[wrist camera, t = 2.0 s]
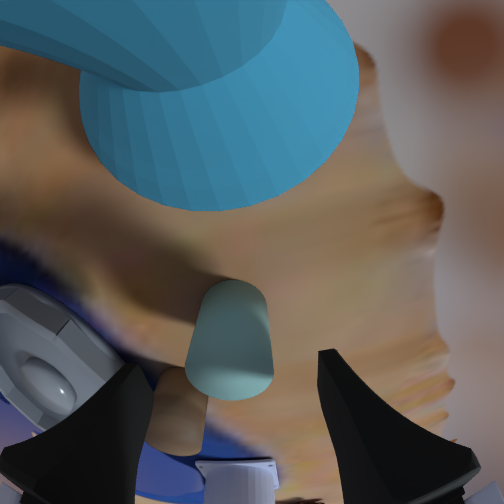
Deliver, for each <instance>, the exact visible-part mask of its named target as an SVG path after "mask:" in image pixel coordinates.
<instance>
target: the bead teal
mask: <svg viewBox="0 0 504 504" xmlns="http://www.w3.org/2000/svg"><path fill="white" fill-rule="evenodd" d="M185 373H186V376H187V378H188V380H189V381H190V383H191V384H192V385H193V386H194V387H195V388H196V389H198V390H199V391H200V392H202V393H204V394H206V395H208V396H210V397H213V398H217V399H222V400H243V399H248V398H251V397H254V396H256V395H258V394H260V393H261V392H263V391H264V390H265V389H266V388H267V387H268V386H269V385H270V383H271V381H272V379H273V375H274V369H273V359H272V349H271V340H270V330H269V321H268V311H267V304H266V300H265V298H264V296H263V294H262V293H261V292H260V291H259V290H258V289H257V288H256V287H255V286H253V285H251V284H249V283H247V282H244V281H240V280H227V281H222V282H219V283H217V284H215V285H214V286H212V287H211V288H210V289H209V290H208V291H207V292H206V294H205V295H204V297H203V300H202V304H201V307H200V311H199V314H198V318H197V322H196V325H195V329H194V332H193V336H192V340H191V343H190V347H189V351H188V355H187V358H186V362H185Z"/></svg>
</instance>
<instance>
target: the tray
mask: <svg viewBox="0 0 504 504" xmlns="http://www.w3.org/2000/svg"><path fill="white" fill-rule="evenodd" d="M124 364H126V363H125V362H124V360H123V359H122V358H121V357H120V356H119V354H118V353H117V352H116V351H115V350H114V348H113V347H112V346H111V345H110V344H109V343H108V342H107V341H106V340H105V339H104V338H103V337H102V336H101V335H100V334H99V333H98V332H97V331H96V330H95V329H94V328H92V327H91V326H90V325H89V324H88V323H87V322H86V321H85V320H83V319H82V318H81V317H80V316H79V315H77V314H76V313H75V312H74V311H72V310H71V309H69V308H68V307H67V306H65V305H64V304H63V303H61V302H60V301H58V300H56V299H55V298H53V297H52V296H50V295H48V294H46V293H44V292H42V291H40V290H39V289H36V288H33V287H31V286H28V285H24V284H20V283H7V284H3V285H1V286H0V392H1V393H2V394H3V396H4V397H5V398H6V399H7V400H8V401H9V402H10V403H11V404H12V405H13V406H14V407H15V408H16V409H17V410H19V411H20V412H21V413H22V414H23V415H24V416H25V417H26V418H27V419H28V420H30V421H31V422H32V423H33V424H34V425H35V426H37V427H38V428H40V429H41V430H43V431H44V432H45V431H46V430H48V429H50V428H51V427H53V426H55V425H56V424H58V423H59V422H61V421H62V420H64V419H65V418H66V417H68V416H69V415H71V414H72V413H73V412H74V411H76V410H77V409H78V408H79V407H80V406H81V405H82V404H84V403H85V402H86V401H87V400H88V399H89V398H90V397H91V396H93V395H94V394H95V393H96V392H97V391H98V390H99V389H100V388H101V387H102V386H103V385H104V384H105V383H106V382H107V381H108V380H109V379H110V378H111V377H112V376H113V375H114V374H115V373H116V372H117V371H118V370H119V369H120V368H121V367H122V366H123V365H124Z"/></svg>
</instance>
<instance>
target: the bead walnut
mask: <svg viewBox="0 0 504 504" xmlns="http://www.w3.org/2000/svg"><path fill="white" fill-rule="evenodd" d="M154 395H155V396H154V403H153V410H152V416H151V419H150V423H149V426H148V430H147V433H146V437H145V440H144V441H145V442H146V443H147V444H149V445H150V446H151V447H153V448H155V449H157V450H159V451H161V452H164V453H167V454H171V455H177V456H191V455H195V454H197V453H199V452H200V451H201V448H202V440H203V432H204V425H205V417H206V410H207V403H208V395H206V394H204V393H202V392H200V391H199V390H198V389H196V388H195V387H194V386H193V385H192V384H191V383H190V381H189V380H188V378H187V376H186V373H185V368H182V367H173V368H168V369H166V370H164V371H163V372H162V373H161V374H160V376H159V379H158V382H157V385H156V388H155V391H154Z"/></svg>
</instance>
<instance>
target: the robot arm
mask: <svg viewBox="0 0 504 504" xmlns="http://www.w3.org/2000/svg"><path fill="white" fill-rule="evenodd" d="M317 387H318V393H319V398H320V403H321V408H322V411H323V415H324V418H325V421H326V424H327V427H328V430H329V434H330V437H331V440H332V443H333V446H334V450H335V453H336V457H337V462H338V467H339V473H340V479H341V485H342V492H343V499H344V504H504V499H503V497H502V494H501V492H500V490H499V488H498V485H497V483H496V481H493V482H491V483H490V484H489V485H487V486H486V487H484V488H483V489H481V490H480V491H478V492H477V493H475V494H473V495H472V496H471V497H469V498H467V499H466V500H463V498H462V495H464V494H465V491H464V488H463V486H464V485H465V484H466V483H467V482H468V481H470V480H471V479H472V478H473V477H474V476H475V475H476V474H478V472H479V471H480V469H481V466H480V464H479V462H478V460H477V458H476V456H475V454H474V453H473V451H472V450H471V448H468V447H465V446H462V445H459V444H456V443H453V442H451V441H448V440H446V439H444V438H441V437H439V436H437V435H435V434H433V433H431V432H429V431H427V430H426V429H424V428H422V427H420V426H419V425H417V424H415V423H413V422H412V421H410V420H409V419H407V418H406V417H404V416H403V415H401V414H400V413H399V412H397V411H396V410H395V409H393V408H392V407H391V406H390V405H388V404H387V403H386V402H385V401H383V400H382V399H381V398H380V397H379V396H378V395H377V394H376V393H375V392H373V391H372V390H371V389H370V388H369V387H368V386H367V385H366V384H365V383H364V382H363V381H362V379H361V378H360V377H359V376H358V375H357V374H356V373H355V372H354V371H353V370H352V369H351V367H350V366H349V365H348V364H347V363H346V362H345V360H344V359H343V358H342V357H341V355H340V354H339V353H338V352H337V350H335V349H328V350H322V351H318V378H317ZM154 396H155V395H154V393H153V391H152V389H151V387H150V385H149V383H148V381H147V379H146V377H145V375H144V373H143V371H142V369H141V367H140V365H139V363H126V364H124V365H123V366H122V367H121V368H120V369H119V370H118V371H117V372H116V373H115V374H114V375H113V376H112V377H111V378H110V379H109V380H108V381H107V382H106V383H105V384H104V385H103V386H102V387H101V388H100V389H99V390H98V391H97V392H96V393H95V394H94V395H93V396H91V397H90V398H89V399H88V400H87V401H86V402H85V403H84V404H82V405H81V406H80V407H79V408H78V409H77V410H76V411H74V412H73V413H72V414H71V415H69V416H68V417H66V418H65V419H64V420H62V421H61V422H59V423H58V424H56V425H55V426H53V427H51V428H50V429H48V430H46V431H45V432H43V433H41V434H39V435H37V436H35V437H33V438H30V439H28V440H26V441H23V442H20V443H17V444H14V445H11V446H8V447H5V448H4V449H3V451H2V453H1V455H0V473H1V474H2V475H3V476H5V477H6V478H7V479H8V480H10V481H11V482H12V483H13V484H15V485H16V486H17V487H19V488H20V489H21V490H23V491H24V492H23V495H21V494H20V493H19V492H17V491H16V490H14V489H13V488H11V487H10V486H8V485H7V484H5V483H4V482H2V484H1V486H0V504H135V486H136V475H137V468H138V462H139V458H140V454H141V450H142V447H143V443H144V440H145V437H146V433H147V430H148V426H149V423H150V419H151V416H152V410H153V403H154ZM195 465H196V466H197V468H198V469H199V471H200V472H201V473H202V475H203V476H204V477H205V479H206V483H205V494H204V504H275V494H274V490H275V489H279V482H278V476H277V470H276V464H275V460H274V459H263V460H245V461H200V460H198V461H196V462H195Z"/></svg>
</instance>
